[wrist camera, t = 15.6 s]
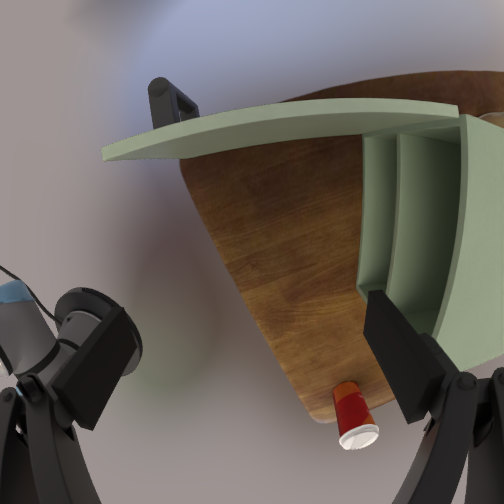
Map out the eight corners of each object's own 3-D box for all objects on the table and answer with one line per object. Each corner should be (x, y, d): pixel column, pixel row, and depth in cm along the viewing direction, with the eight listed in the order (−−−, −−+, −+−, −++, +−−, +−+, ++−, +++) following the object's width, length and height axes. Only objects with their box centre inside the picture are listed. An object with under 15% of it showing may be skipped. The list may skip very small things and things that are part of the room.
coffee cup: (353, 401, 54) (368, 449, 40) (322, 400, 54) (333, 452, 40) (368, 377, 52) (388, 427, 38) (335, 376, 51) (351, 431, 37)
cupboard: (355, 288, 44) (417, 386, 22) (361, 131, 36) (466, 113, 13) (435, 280, 44) (510, 350, 21) (448, 144, 35) (552, 154, 13)
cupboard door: (179, 115, 36) (92, 73, 13) (350, 91, 34) (438, 37, 11) (187, 158, 38) (102, 161, 15) (358, 134, 36) (459, 117, 14)
